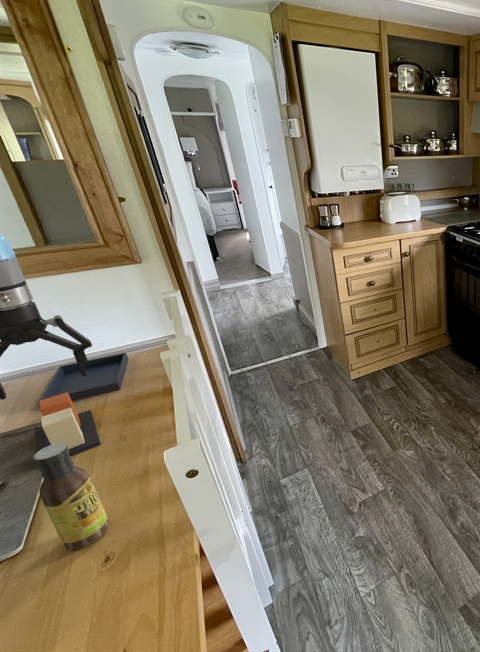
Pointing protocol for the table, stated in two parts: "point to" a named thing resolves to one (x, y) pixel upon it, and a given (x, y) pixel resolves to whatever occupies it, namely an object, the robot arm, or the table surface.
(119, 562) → the table surface
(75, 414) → the rust block
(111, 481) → the table surface
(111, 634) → the table surface
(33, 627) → the table surface
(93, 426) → the mat
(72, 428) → the cream block
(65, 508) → the sauce bottle
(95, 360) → the tray
